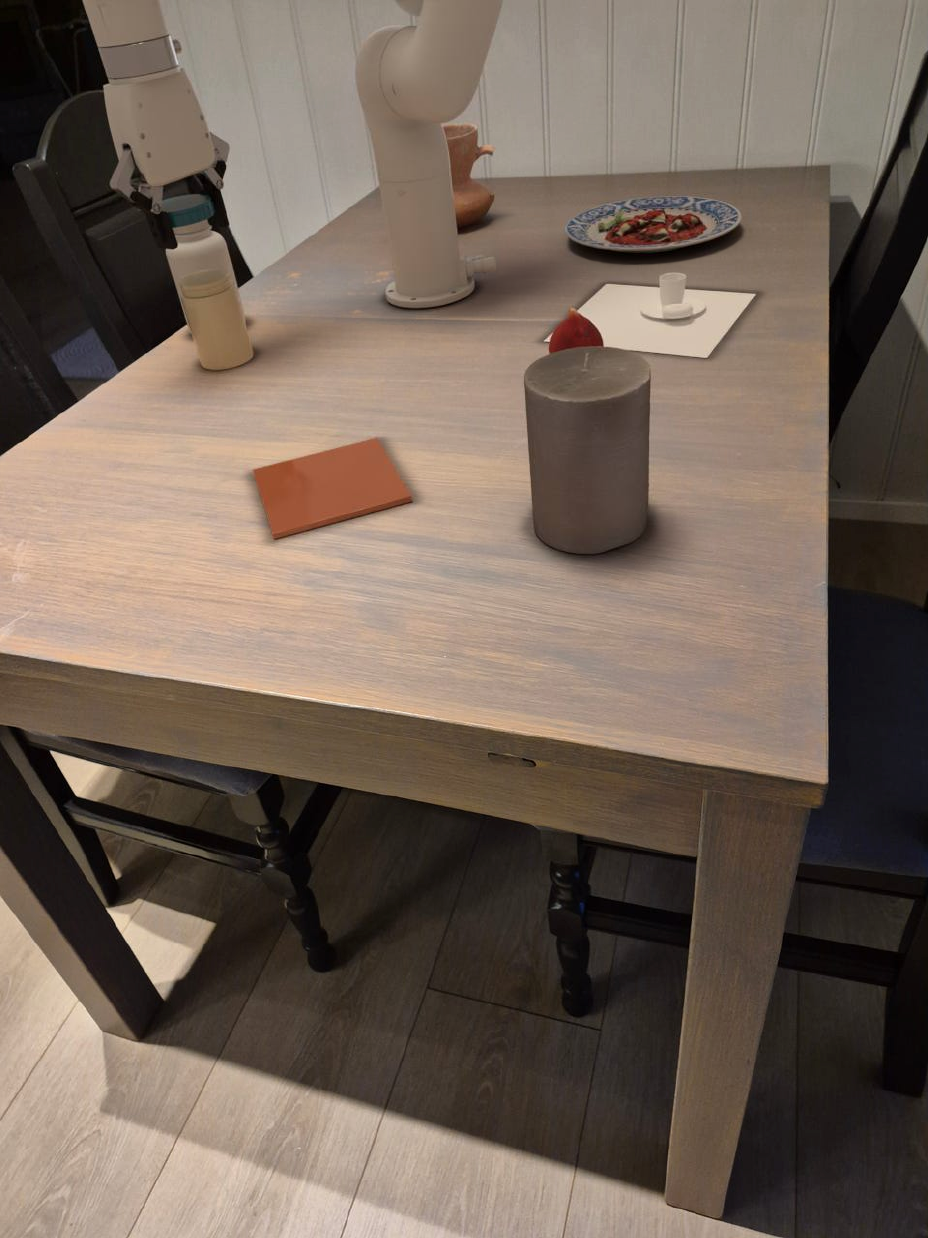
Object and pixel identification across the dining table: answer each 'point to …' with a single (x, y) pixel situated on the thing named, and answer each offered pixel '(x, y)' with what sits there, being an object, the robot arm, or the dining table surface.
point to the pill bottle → (199, 254)
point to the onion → (575, 333)
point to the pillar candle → (588, 447)
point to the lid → (188, 209)
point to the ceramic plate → (653, 223)
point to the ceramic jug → (467, 173)
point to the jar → (215, 319)
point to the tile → (329, 487)
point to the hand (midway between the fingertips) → (194, 235)
